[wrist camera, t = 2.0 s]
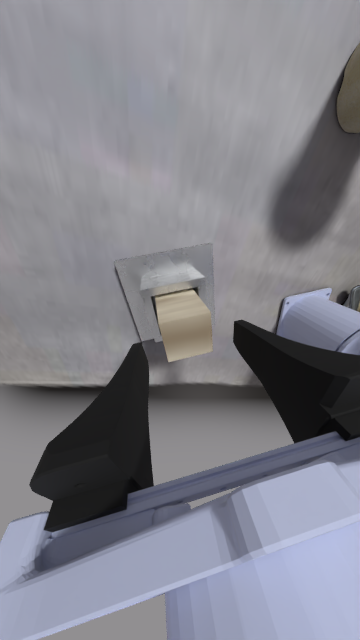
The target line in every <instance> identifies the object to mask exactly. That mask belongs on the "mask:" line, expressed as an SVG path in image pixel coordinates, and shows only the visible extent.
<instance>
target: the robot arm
mask: <svg viewBox="0 0 360 640" xmlns="http://www.w3.org/2000/svg"><path fill="white" fill-rule="evenodd" d="M331 291H332V289H331V288H325V289H321V290H316V291H312V292H307V293H303V294H298V295H294V296H289V297H286V298H285V299H284V301H283V306H282V310H281V315H280V319H279V324H278V328H277V333H276V334H274V333H271V332H269V331H266V330H264V329H262V328H260V327H257V326H255V325H253V324H251V323H249V322H246V321H244V320H238V321H234V337H233V342H234V344H235V346H236V348H237V350H238V351H239V353H240V354H241V356H242V357H243V359H244V360H245V361H246V363H247V364H248V365H249V366H250V368H251V369H252V370H253V372H254V373H255V374H256V376H257V377H258V379H259V380H260V381H261V383H262V385H263V386H264V388H265V390H266V391H267V393H268V395H269V396H270V398H271V400H272V401H273V403H274V405H275V407H276V409H277V410H278V412H279V414H280V416H281V418H282V420H283V421H284V423H285V425H286V427H287V429H288V431H289V433H290V435H291V437H292V439H293V441H294V444H291V445H288V446H285V447H281V448H278V449H275V450H271V451H268V452H265V453H261V454H258V455H255V456H252V457H248V458H245V459H242V460H239V461H235V462H232V463H229V464H225V465H222V466H219V467H215V468H212V469H209V470H206V471H202V472H199V473H195V474H192V475H189V476H186V477H183V478H179V479H176V480H173V481H169V482H166V483H162V484H159V485H156V486H154V485H153V474H152V464H151V451H150V439H149V422H148V390H149V366H148V360H147V357H146V354H145V352H144V349H143V346H142V343H141V342H140V343H136V344H133V345H132V347H131V348H130V350H129V352H128V354H127V356H126V357H125V359H124V361H123V363H122V364H121V366H120V368H119V369H118V371H117V372H116V374H115V375H114V377H113V378H112V379H111V381H110V382H109V383H108V385H107V386H106V387H105V389H104V390H103V391H102V392H101V394H100V395H99V396H98V397H97V398H96V399H95V400H94V401H93V402H92V403H91V405H90V406H89V407H88V408H87V409H86V410H85V411H84V412H83V413H82V414H81V415H80V416H79V417H78V418H77V419H75V420H74V421H73V423H71V424H70V425H69V426H68V427H67V428H66V429H65V430H63V431H62V432H61V433H60V434H59V435H58V436H57V437H55V438H54V439H53V440H52V441H51V442H49V443H48V445H47V447H46V449H45V451H44V453H43V455H42V457H41V459H40V462H39V464H38V466H37V468H36V471H35V473H34V475H33V477H32V479H31V482H30V487H31V489H32V491H33V492H35V493H37V494H39V495H41V496H44V497H46V498H48V499H50V500H53V503H52V507H51V509H50V512H40V513H36V514H32V515H29V516H26V517H22V518H19V519H16V520H13V521H11V522H10V523H9V525H8V527H7V529H6V531H5V533H4V536H3V538H2V540H1V542H0V640H37V639H40V638H43V637H45V636H48V635H51V634H54V633H56V632H59V631H62V630H65V629H68V628H70V627H73V626H76V625H79V624H81V623H84V622H87V621H90V620H92V619H95V618H98V617H101V616H104V615H106V614H109V613H112V612H115V611H117V610H120V609H123V608H126V607H128V606H131V605H134V604H137V603H139V602H142V601H145V600H148V599H151V598H154V597H156V596H159V595H162V594H165V604H166V623H167V640H360V312H358V311H355V310H353V309H350V308H348V307H345V306H342V305H340V304H337V303H335V302H332V301H330V300H328V299H329V296H330V294H331ZM241 485H242V486H241ZM238 486H240V487H239V488H237V489H236V490H234V491H232V492H231V493H229V494H226V495H224V496H222V497H219V498H217V499H214V500H212V501H210V502H207V503H205V504H202V505H200V506H198V507H195V508H193V509H191V508H190V505H189V504H188V503H187V502H191V501H194V500H197V499H200V498H203V497H206V496H210V495H213V494H216V493H219V492H222V491H226V490H229V489H232V488H235V487H238ZM185 503H187V504H185Z"/></svg>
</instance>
